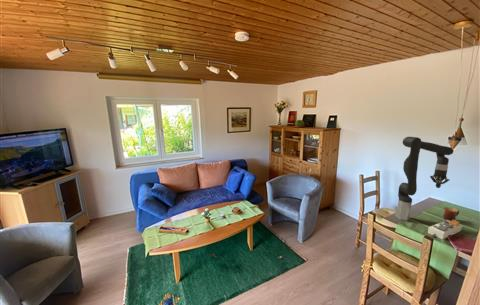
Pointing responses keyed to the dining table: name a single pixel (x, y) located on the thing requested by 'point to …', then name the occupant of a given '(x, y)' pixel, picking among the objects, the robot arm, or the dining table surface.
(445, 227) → the rocker
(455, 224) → the rocker
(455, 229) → the power strip
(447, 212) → the mug
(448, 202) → the dining table surface
